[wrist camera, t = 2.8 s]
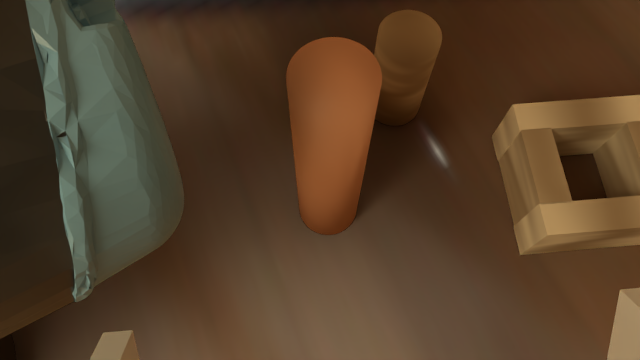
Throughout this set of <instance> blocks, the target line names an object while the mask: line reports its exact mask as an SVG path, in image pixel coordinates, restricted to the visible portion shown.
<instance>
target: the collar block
mask: <svg viewBox="0 0 640 360" xmlns="http://www.w3.org/2000/svg"><path fill="white" fill-rule="evenodd" d="M492 140H493V144H494V149H495V153H496V157H497V161H499V165H500V169H501V174H502V178H503V182H504V186H505V190H506V194H507V198H508V203H509V207H510V211H511V215H512V219H513V223H514V227H513V228H514V232H515V236H516V240H517V244H518V248H519V253H520V255H526V254H538V253H550V252H562V251H573V250H585V249H597V248H609V247H620V246H632V245H640V95H631V96H618V97H604V98H591V99H578V100H564V101H551V102H537V103H524V104H513V105H512V106H511V108H510V109H509V111H508V112H507V114H506V115H505V117H504V118H503V120H502V121H501V123H500V125H499V126H498V128H497V129H496V131H495V132H494V134H493V135H492ZM581 154H593V156H594V159H595V162H596V165H597V168H598V171H599V174H600V177H601V181H602V184H603V187H604V190H605V193H606V196H607V198H603V199H591V200H578V201H572V198H571V194H570V191H569V187H568V184H567V181H566V177H565V174H564V170H563V167H562V163H561V160H560V157H559V156H568V155H581Z"/></svg>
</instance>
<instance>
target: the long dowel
mask: <svg viewBox="0 0 640 360" xmlns="http://www.w3.org/2000/svg"><path fill="white" fill-rule="evenodd" d="M286 83H287V93H288V103H289V113H290V122H291V132H292V142H293V152H294V162H295V171H296V181H297V191H298V201H299V210H300V215H301V218H302V220H303V222H304V223H305V224H306V226H307V227H308V228H310V229H311V230H312V231H314V232H316V233H319V234H323V235H333V234H337V233H340V232H342V231H344V230H345V229H347V228H348V227H349V226H350V225H351V223H352V222H353V220H354V218H355V216H356V211H357V206H358V201H359V196H360V191H361V186H362V181H363V176H364V171H365V166H366V161H367V155H368V150H369V145H370V140H371V135H372V130H373V125H374V120H375V115H376V110H377V105H378V100H379V95H380V90H381V85H382V72H381V67H380V65H379V62H378V61H377V59H376V57H375V56H374V55H373V54H372V53H371V52H370V51H369V50H368V49H367V48H366V47H364V46H363V45H361V44H360V43H358V42H355V41H353V40H350V39H346V38H341V37H327V38H321V39H317V40H314V41H312V42H310V43H308V44H306V45H304V46H303V47H301V48H300V49H299V50H298V51H297V52H296V53H295V54H294V56H293V57H292V58H291V60H290V62H289V64H288V67H287V72H286Z"/></svg>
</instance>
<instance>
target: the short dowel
mask: <svg viewBox="0 0 640 360" xmlns="http://www.w3.org/2000/svg"><path fill="white" fill-rule="evenodd" d="M441 43H442V32H441V29H440V27H439V25H438V24H437V23H436V21H435V20H434V19H433V18H431V17H430V16H428V15H427V14H425V13H422V12H420V11H416V10H400V11H396V12H393V13H391V14H390V15H388V16H387V17H386V18H384V20H383V21H382V22H381V24H380V26H379V29H378V34H377V40H376V46H375V52H374V56H375V57H376V59H377V61H378V62H379V65H380V67H381V72H382V85H381V90H380V95H379V100H378V105H377V110H376V115H375V119H376V120H377V121H379V122H380V123H382V124H385V125H389V126H400V125H404V124H406V123H408V122H410V121H411V120H412V119H413V118H414V117H415V116H416V115H417V113H418V110H419V107H420V104H421V101H422V99H423V96H424V93H425V90H426V87H427V84H428V81H429V78H430V75H431V72H432V69H433V67H434V64H435V61H436V58H437V55H438V52H439V49H440V46H441Z"/></svg>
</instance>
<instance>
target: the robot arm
mask: <svg viewBox="0 0 640 360" xmlns="http://www.w3.org/2000/svg"><path fill="white" fill-rule="evenodd" d="M183 209H184V190H183V183H182V178H181V175H180V171H179V168H178V164H177V161H176V157H175V154H174V151H173V148H172V145H171V142H170V139H169V136H168V133H167V130H166V127H165V124H164V121H163V118H162V116H161V113H160V110H159V107H158V105H157V102H156V99H155V97H154V94H153V91H152V89H151V86H150V83H149V81H148V78H147V75H146V73H145V70H144V67H143V65H142V62H141V60H140V57H139V55H138V52H137V50H136V47H135V45H134V43H133V40H132V38H131V35H130V33H129V30H128V28H127V26H126V24H125V22H124V20H123V18H122V17H121V15H120V14H119V13H118V12H117V10H116V9H115V0H0V360H16V356H15V348H14V344H13V339H12V336H11V333H13V332H15V331H17V330H19V329H21V328H23V327H25V326H27V325H29V324H30V323H32V322H34V321H36V320H38V319H40V318H42V317H44V316H46V315H48V314H50V313H52V312H54V311H56V310H58V309H60V308H62V307H64V306H66V305H68V304H70V303H72V302H79V301H81V300H83V299H85V298H86V297H87V296H89V295H90V294H91V293H92V291H93V288H94V287H95V286H96V285H98V284H100V283H101V282H103V281H105V280H106V279H108V278H110V277H111V276H113V275H114V274H116V273H118V272H119V271H121V270H123V269H124V268H126V267H128V266H129V265H131V264H133V263H134V262H136V261H138V260H139V259H141V258H143V257H144V256H146V255H148V254H149V253H151V252H153V251H154V250H156V249H157V248H159V247H160V246H162V245H163V244H164V243H165V242H166V241H167V240H168V239H169V238H170V237H171V235H172V234H173V233H174V231H175V230H176V228H177V226H178V224H179V222H180V220H181V217H182V213H183ZM90 360H140V359H139V355H138V351H137V346H136V342H135V338H134V334H133V330H128V331H116V332H104V333H103V334H102V336H101V338H100V340H99V342H98V344H97V346H96V348H95V350H94V352H93V354H92V356H91V358H90ZM607 360H640V288H631V289H620V292H619V298H618V303H617V308H616V314H615V319H614V324H613V330H612V335H611V340H610V346H609V351H608V356H607Z"/></svg>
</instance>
